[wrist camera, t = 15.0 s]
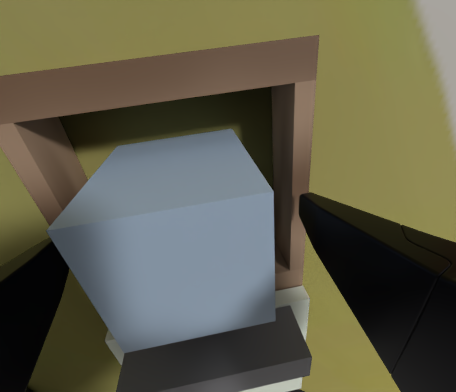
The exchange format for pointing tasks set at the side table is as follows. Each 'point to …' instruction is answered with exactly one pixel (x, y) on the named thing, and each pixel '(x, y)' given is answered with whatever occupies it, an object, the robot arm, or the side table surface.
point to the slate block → (173, 240)
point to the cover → (227, 356)
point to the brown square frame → (159, 92)
